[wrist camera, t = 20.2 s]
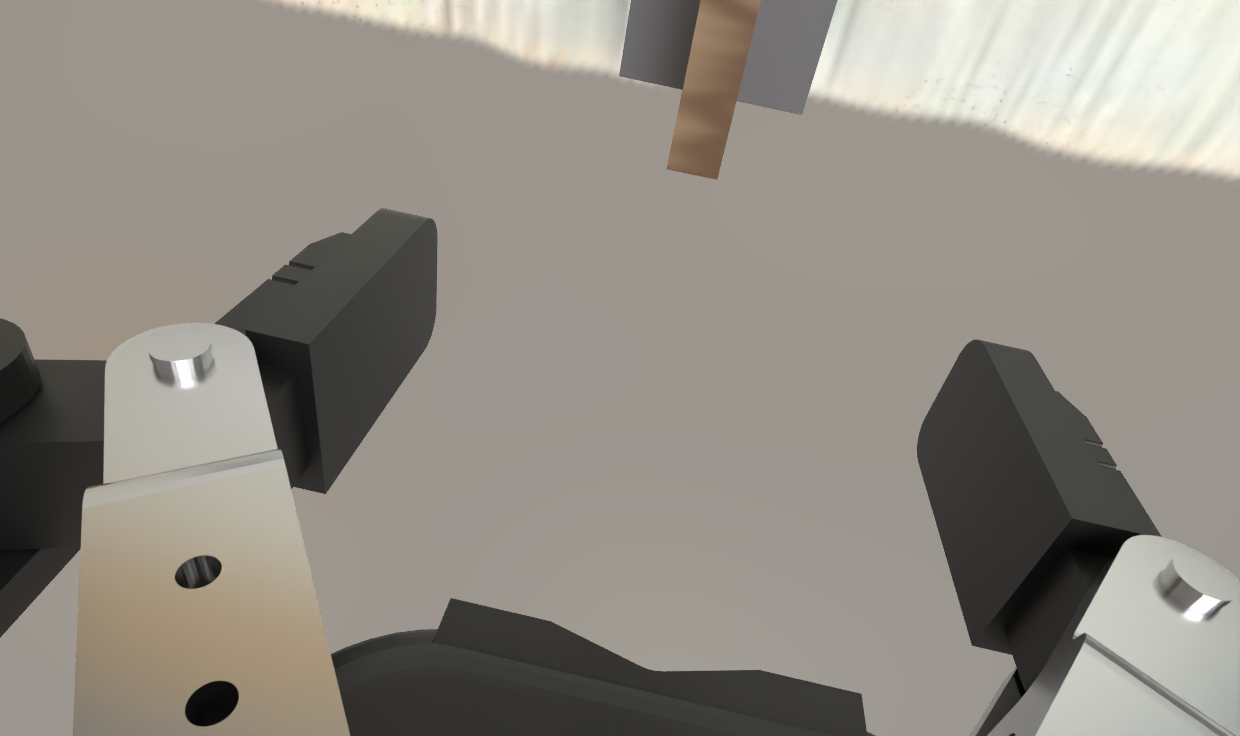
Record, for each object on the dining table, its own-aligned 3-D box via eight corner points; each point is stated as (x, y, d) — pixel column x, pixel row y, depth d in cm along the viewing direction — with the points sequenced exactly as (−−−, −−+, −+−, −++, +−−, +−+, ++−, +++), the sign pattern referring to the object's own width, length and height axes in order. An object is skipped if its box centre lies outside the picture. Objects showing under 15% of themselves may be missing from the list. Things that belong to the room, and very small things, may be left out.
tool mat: (852, -58, 34) (854, -57, 33) (800, 110, 39) (801, 114, 38) (648, -100, 34) (646, -100, 34) (621, 72, 39) (619, 76, 38)
